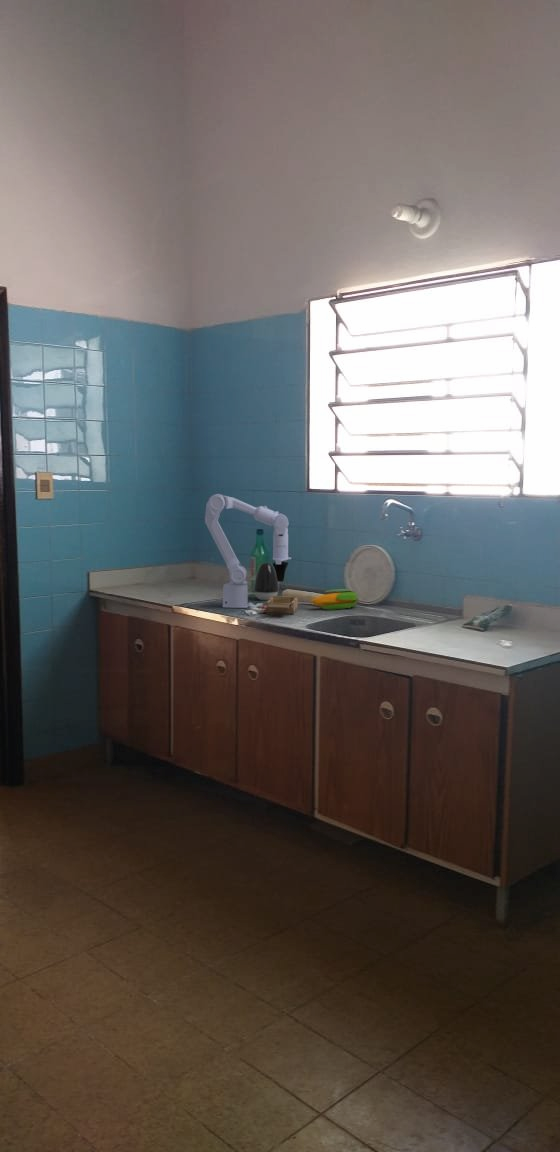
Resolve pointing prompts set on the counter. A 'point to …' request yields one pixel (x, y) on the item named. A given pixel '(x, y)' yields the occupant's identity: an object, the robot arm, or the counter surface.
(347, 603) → the corn
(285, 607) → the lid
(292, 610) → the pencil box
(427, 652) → the counter surface
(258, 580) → the dark grey egg shape
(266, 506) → the robot arm
